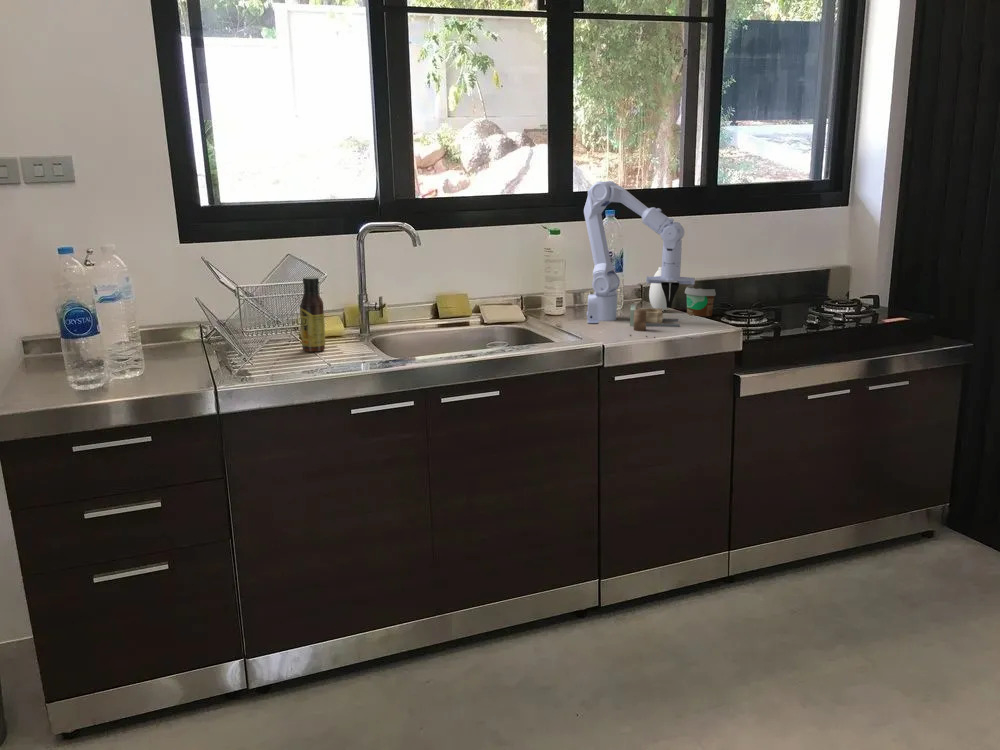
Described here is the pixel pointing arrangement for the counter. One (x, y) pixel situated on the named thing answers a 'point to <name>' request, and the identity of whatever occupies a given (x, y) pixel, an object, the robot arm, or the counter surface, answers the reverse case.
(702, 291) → the food container
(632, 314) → the slide board
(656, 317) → the maple block
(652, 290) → the sauce bottle
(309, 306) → the sauce bottle
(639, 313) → the walnut dowel
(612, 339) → the counter surface
